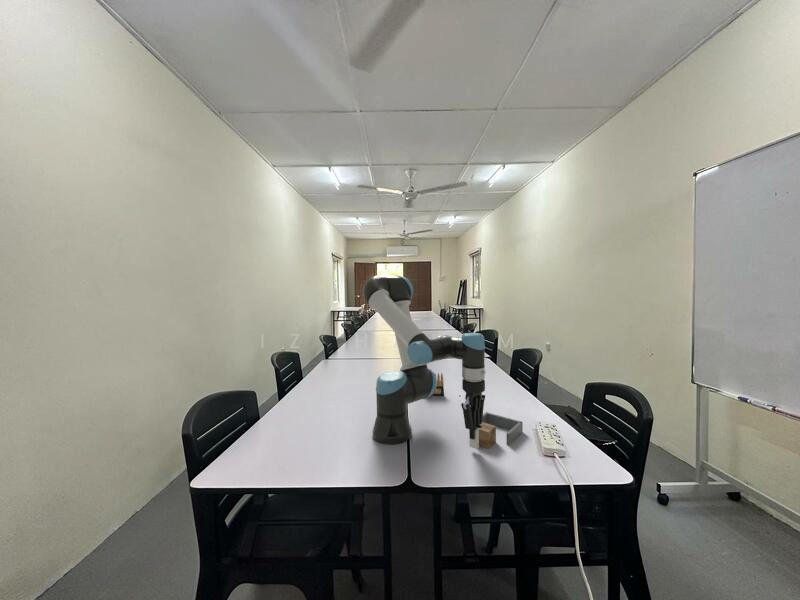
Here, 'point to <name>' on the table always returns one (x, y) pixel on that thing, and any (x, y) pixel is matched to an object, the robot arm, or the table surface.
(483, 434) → the block
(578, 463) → the table surface
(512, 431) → the corral
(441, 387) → the ammunition clip
